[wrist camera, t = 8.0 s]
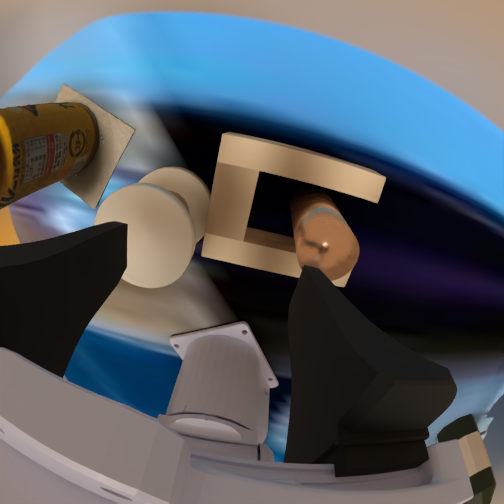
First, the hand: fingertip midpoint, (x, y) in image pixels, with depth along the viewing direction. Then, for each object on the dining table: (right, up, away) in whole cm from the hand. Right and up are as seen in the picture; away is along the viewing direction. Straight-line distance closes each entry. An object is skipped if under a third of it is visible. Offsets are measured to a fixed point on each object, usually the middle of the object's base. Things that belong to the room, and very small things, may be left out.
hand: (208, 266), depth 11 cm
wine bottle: (+40, -32, +24) cm, 57 cm away
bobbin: (-4, +4, +9) cm, 11 cm away
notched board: (+4, +4, +8) cm, 10 cm away
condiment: (-12, +9, +7) cm, 17 cm away
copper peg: (+6, +4, +8) cm, 11 cm away
